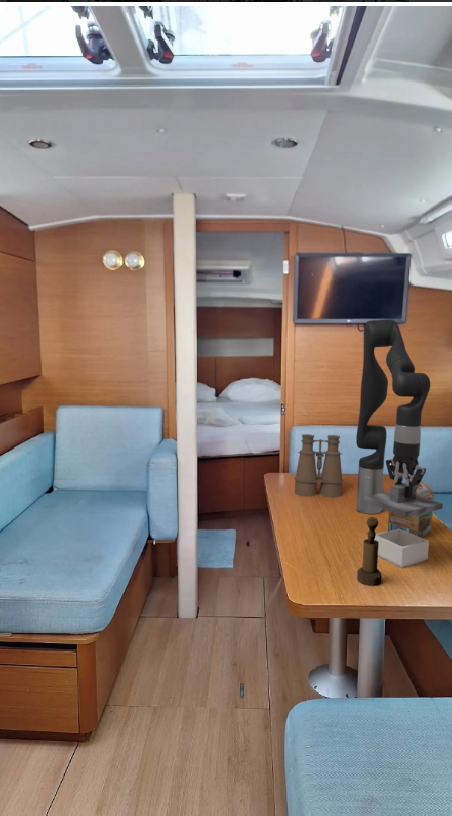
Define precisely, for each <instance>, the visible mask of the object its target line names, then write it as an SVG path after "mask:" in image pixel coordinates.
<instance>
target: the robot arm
mask: <svg viewBox="0 0 452 816" xmlns="http://www.w3.org/2000/svg"><path fill="white" fill-rule="evenodd" d="M386 347H390V348H389V350H388V352H387V353H386V357H385V363H386V366H387V368H388V370H389V372H390V374H391V379H392V380H391V388H392V391H393V394H394V395H396V396H398V397H401V398H402V397H405V398H406V397H412V400H411V401H410V402H408V403H404V404H399V405H398V406H397V407H396V415H395V426H394V433H393V444H392V445H393V447H392V454H393V457H392V459H386V460H385V453H386V445H387V444H386V443H387V437H388V436H387V428H386V427H385V426H384V425H370V424H368V423H369V421H370V420H371V418H372V417H373V415H374V413H376V411H377V410H378V409H380V407H381V406H382V405H383V404H384V403H385V401H386V399H387V397H388V389H389V386H388V385H389V381H388V376H387V375H386V373H385V371H384V370H383V368H382V367H381V365H380V363H379V362H378V360H377V358H376V355H375V350H376V348H386ZM362 361H363V362H362V374H361V385H360V398H359V399H360V401H359V403H360V405H359V414H358V423H357V431H356V435H355V436H356V439H355V440H356V446H357V448H359V449H361V450H362V449H363V450H372V451H373V450H375V452H373V453H372V454H369V455H367V456H362V457H360V458H359V460H358V473H357V491H356V507H355V509H356V511H358V512H360V513H363V514H369V515H370V514H371V515H375V514H376V515H377V514H380V513H382V511H383V510H384V509H382V508H379V507H377V506H374V505H372V504H369V503H366V502H364V496H369V495H375V494H380V493H385V486H384V485H383V483H384V468H385V465H386V470H387V472H388V477H389V480H392V481H393V483H394V485H399V484H404V482H403V479H405V480H404V481H405V482H406V486H405V498H407V499H408V498H411V497H412V495H413V486H415V485H419V484H420V482H421V481H423V478H424V476H425V474H426V471H427V468H426V467H422V466H421V465H420V463H419V457H420V452H421V442H422V441H421V437H422V430H421V429H422V426H421V425H422V415H423V410H424V406H425V403H426V400H427V397H428V395H429V392H430V389H431V379H430V376H428V374H426V373H424V372H416V366H415V365H414V362H413V361H412V360H411V357H410V356H409V354H408V352H407V350H406V346H405V343H404V340H403V336H402V333H401V330H400V327H399V325H398V323H397V321H396V320H394V319H391V318H390V319H373V320H367V321H366V322H365V324H364V328H363V360H362Z"/></svg>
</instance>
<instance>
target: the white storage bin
mask: <svg viewBox="0 0 452 816" xmlns="http://www.w3.org/2000/svg"><path fill="white" fill-rule="evenodd" d="M374 540H376V541H378V542H379V545H378V558H380V559H381V560H385V561H386V562H388V563H390V564H393V565H395V566H396V567H398V568H401V569H402V568H405V566H406V567H410V566H411V565H416V564H418V563H421V562H425V560H426V561H428V558H429V549H430V547H429V545H430V540H428V539H425V538H423V537H422V538H420V537H418V536H416V535H413V534H411V533H408V532H406V531H403V530H401V529H395V530H391V531H388V530H387V531H383V532H380V533H379V532H378V533H376V537H375V539H374ZM415 563H416V564H415Z"/></svg>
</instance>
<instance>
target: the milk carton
mask: <svg viewBox="0 0 452 816" xmlns="http://www.w3.org/2000/svg"><path fill="white" fill-rule="evenodd" d="M405 483H406V481H405ZM416 495H418V496H421V497H424V498H427V499H430V500H433V501H435V499H434V498H435V492H434V491H433V489H431V487H430V486H429V485H428V484H426V483H425V482H424V481H423V480H421V482H420V484H419V485H417V490H416ZM433 512H434V511H431V512H426V513H422V514H418V515H413V516H409V517H403V516H401V515H398V514H395V513H393V512H390V511H388V522H387V523H388V524H387V531H391V530H395V529H401V530H403V531H406V532H408V533H411V534H413V535H416V536H418V537H420V538H423V537H425V536H427V535H429V534H431V533H432V525H433V514H434V513H433Z"/></svg>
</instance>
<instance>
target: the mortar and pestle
mask: <svg viewBox="0 0 452 816" xmlns="http://www.w3.org/2000/svg"><path fill="white" fill-rule="evenodd" d="M366 524H367V527H368V529H369V530H368V532H367V533H366V534H367V539H366V538H365V539H364V540H363V544H362V545H363V546H362V547H363V550H362V551H363V552H362V566H361V567H359V568H358V569H357V572H356V573H357V574H356V575H357V576H356V580H357V581H358V583H359V584H363V585H366V586H372V587H373V586H379V585H380V584H381V583H382V579H383V578H382V575H383V574H382V572H381V571H380V570H379V569H378V563H379V562H378V558H379V557H378V545H379V542H378V541H376V540H374V539H375V537H376V534H377V533H376V529H377V527H378V526H379V520H378V518H376V517H374V516H369V517H368V518H367V520H366Z"/></svg>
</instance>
